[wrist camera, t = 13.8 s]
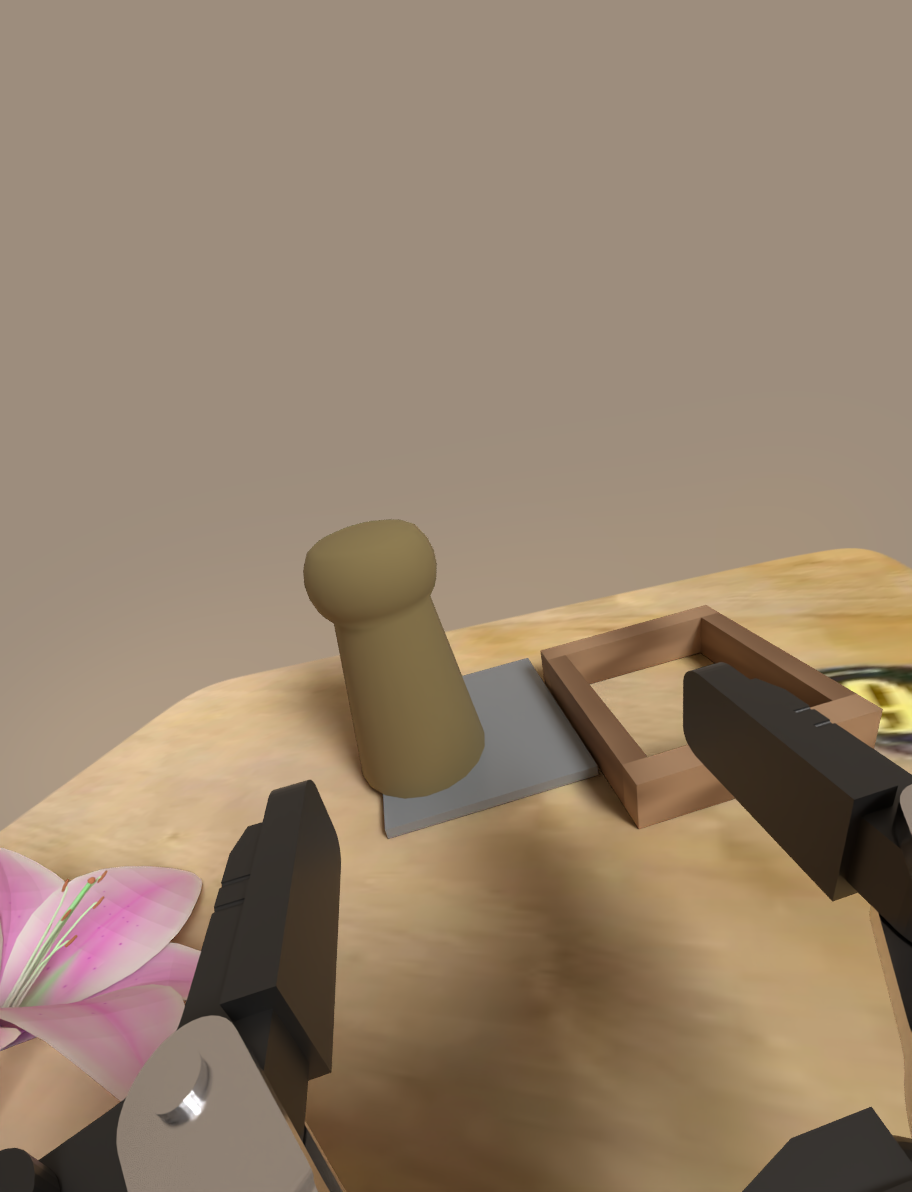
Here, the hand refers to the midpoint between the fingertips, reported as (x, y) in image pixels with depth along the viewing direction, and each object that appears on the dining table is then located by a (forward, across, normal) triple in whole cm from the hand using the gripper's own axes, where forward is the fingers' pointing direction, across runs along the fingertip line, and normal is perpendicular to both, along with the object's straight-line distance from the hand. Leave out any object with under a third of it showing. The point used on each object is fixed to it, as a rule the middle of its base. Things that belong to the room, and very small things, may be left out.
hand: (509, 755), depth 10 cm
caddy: (+8, -10, +9) cm, 15 cm away
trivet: (+11, 0, +9) cm, 14 cm away
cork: (+10, +2, +8) cm, 14 cm away
